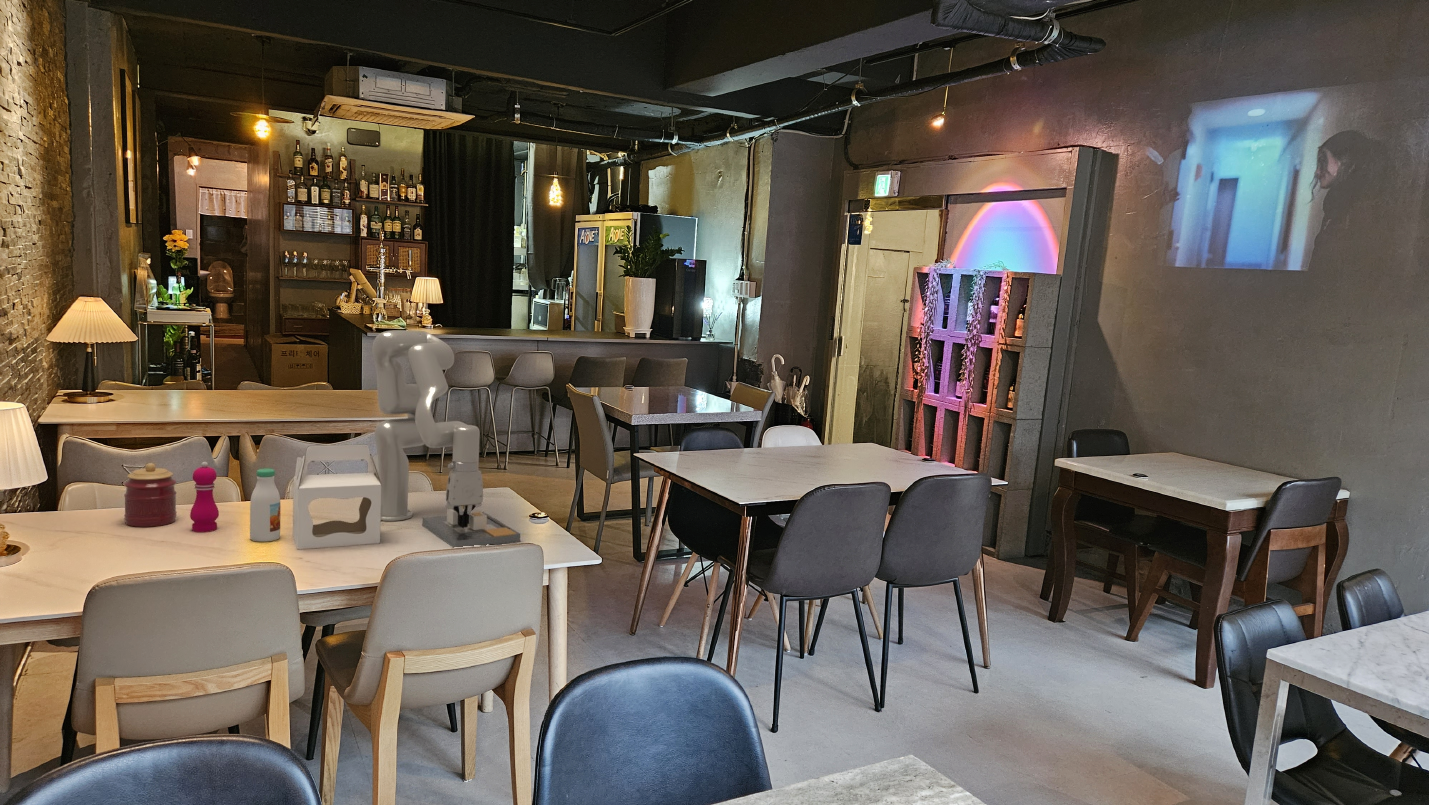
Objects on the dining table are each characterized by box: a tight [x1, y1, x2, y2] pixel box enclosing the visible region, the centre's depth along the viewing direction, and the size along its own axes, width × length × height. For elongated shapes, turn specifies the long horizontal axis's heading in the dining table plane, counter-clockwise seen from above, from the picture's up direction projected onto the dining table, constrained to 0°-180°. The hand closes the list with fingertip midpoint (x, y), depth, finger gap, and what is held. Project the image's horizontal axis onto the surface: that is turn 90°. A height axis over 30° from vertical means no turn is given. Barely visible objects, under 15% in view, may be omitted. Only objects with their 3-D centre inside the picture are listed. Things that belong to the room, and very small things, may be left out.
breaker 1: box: [446, 508, 464, 525], centre depth 271 cm, size 4×5×4 cm
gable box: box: [292, 443, 382, 550], centre depth 253 cm, size 22×13×28 cm, turn 120°
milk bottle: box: [249, 468, 281, 543], centre depth 250 cm, size 8×8×20 cm
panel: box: [421, 511, 521, 548], centre depth 271 cm, size 20×28×3 cm
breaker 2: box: [468, 511, 487, 530], centre depth 267 cm, size 4×5×4 cm
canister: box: [123, 462, 177, 528], centre depth 259 cm, size 13×13×18 cm
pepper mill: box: [189, 461, 220, 533], centre depth 255 cm, size 7×7×20 cm
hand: (463, 526), depth 265 cm, fingers closed
